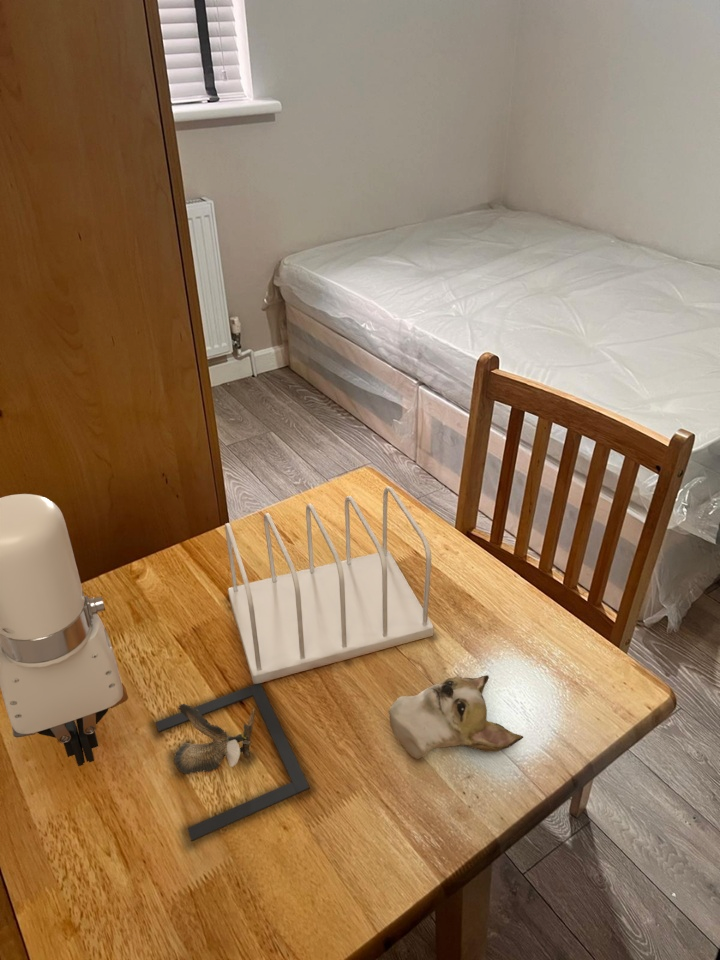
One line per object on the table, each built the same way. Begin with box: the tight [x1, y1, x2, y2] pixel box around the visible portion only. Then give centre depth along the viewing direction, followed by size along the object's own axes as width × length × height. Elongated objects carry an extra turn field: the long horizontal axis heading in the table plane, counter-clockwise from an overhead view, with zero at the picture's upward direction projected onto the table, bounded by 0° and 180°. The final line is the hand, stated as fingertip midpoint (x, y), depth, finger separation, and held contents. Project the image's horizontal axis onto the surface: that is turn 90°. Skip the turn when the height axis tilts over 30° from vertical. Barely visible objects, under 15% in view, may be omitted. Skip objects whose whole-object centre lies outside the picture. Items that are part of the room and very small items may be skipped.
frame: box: [155, 683, 310, 842], centre depth 85 cm, size 14×16×1 cm
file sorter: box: [224, 486, 434, 685], centre depth 99 cm, size 25×17×16 cm
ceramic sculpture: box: [388, 674, 524, 760], centre depth 85 cm, size 11×9×15 cm
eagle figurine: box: [173, 703, 256, 775], centre depth 84 cm, size 8×7×9 cm
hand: (84, 752), depth 75 cm, fingers closed
